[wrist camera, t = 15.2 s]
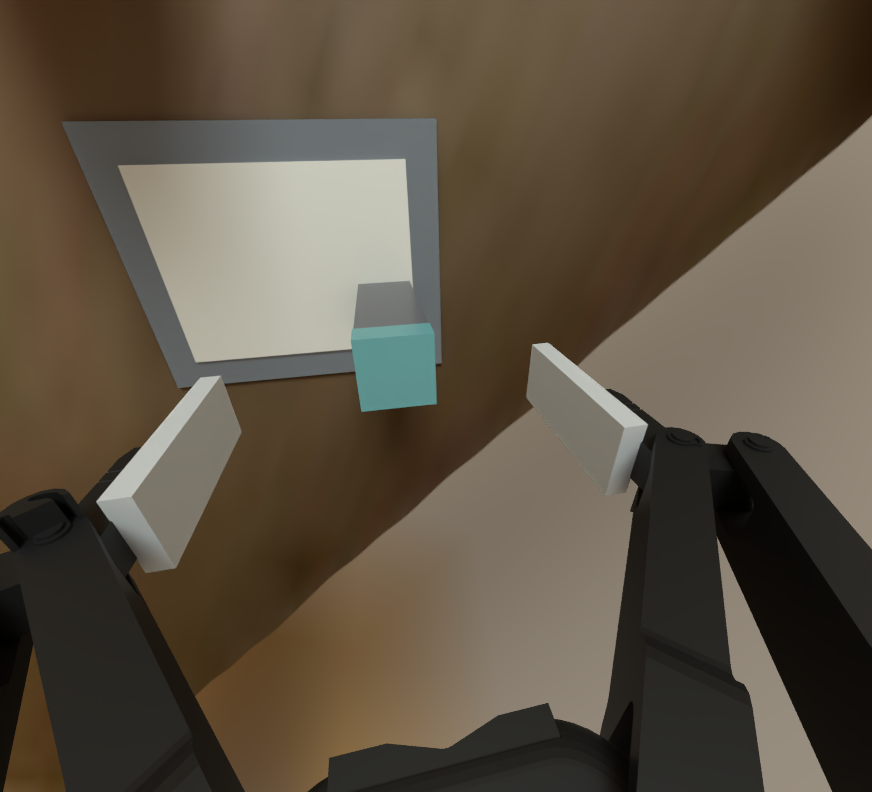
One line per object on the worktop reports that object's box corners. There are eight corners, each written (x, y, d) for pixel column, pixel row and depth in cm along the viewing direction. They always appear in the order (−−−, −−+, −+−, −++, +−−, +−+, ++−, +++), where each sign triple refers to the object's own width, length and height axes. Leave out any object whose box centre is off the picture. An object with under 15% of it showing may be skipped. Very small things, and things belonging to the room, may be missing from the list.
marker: (364, 333, 27) (361, 411, 18) (357, 283, 25) (350, 340, 16) (413, 330, 27) (436, 403, 18) (410, 280, 26) (434, 333, 16)
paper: (179, 386, 27) (176, 389, 27) (65, 122, 19) (57, 120, 19) (440, 361, 30) (442, 364, 29) (435, 119, 22) (437, 117, 21)
